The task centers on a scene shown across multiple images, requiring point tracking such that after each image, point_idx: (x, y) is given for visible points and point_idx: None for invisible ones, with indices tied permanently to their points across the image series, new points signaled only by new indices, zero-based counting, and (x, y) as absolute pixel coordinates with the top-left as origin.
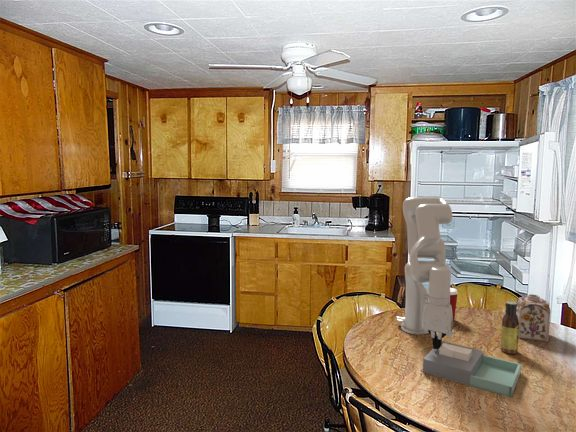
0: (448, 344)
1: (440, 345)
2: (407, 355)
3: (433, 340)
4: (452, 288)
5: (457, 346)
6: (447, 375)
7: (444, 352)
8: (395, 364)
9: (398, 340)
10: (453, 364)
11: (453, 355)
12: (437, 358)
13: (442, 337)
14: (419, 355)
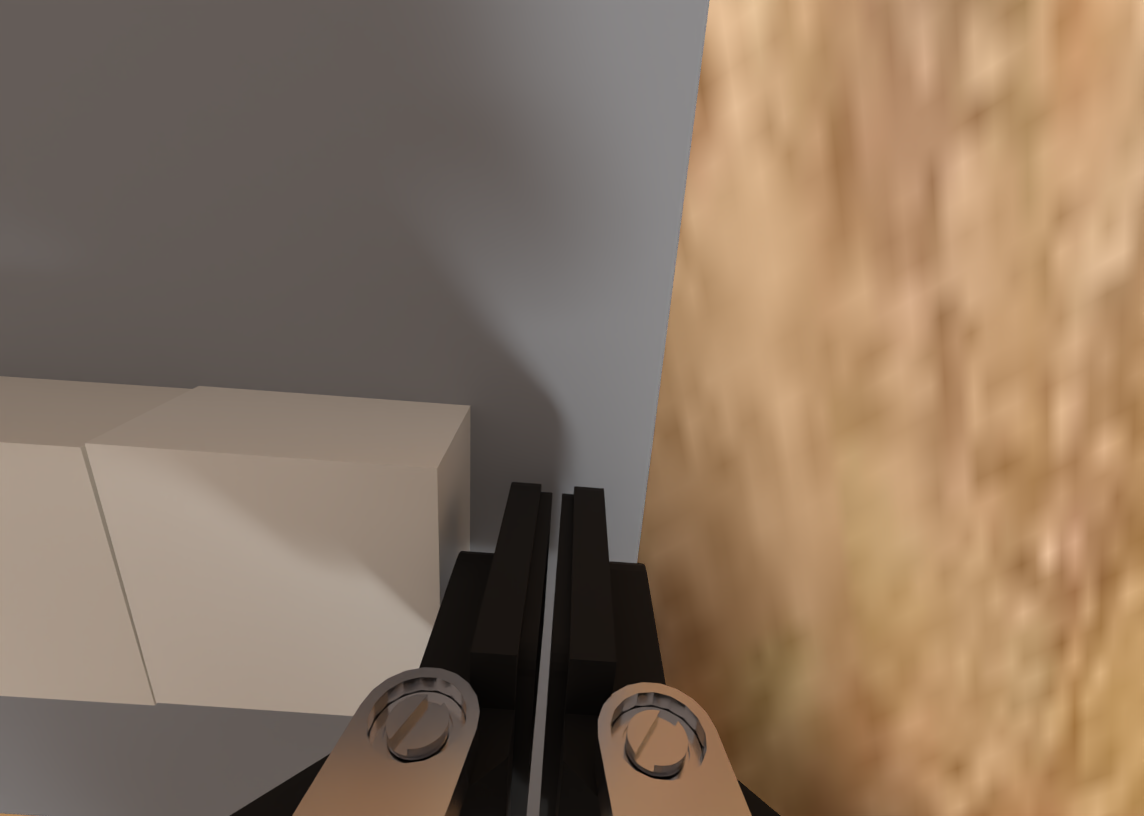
0: (335, 702)
1: (454, 581)
2: (946, 457)
3: (627, 646)
4: None
5: (151, 695)
6: None
7: (348, 421)
8: (1125, 51)
9: (1072, 760)
10: (25, 22)
11: (169, 403)
12: (430, 156)
13: (310, 780)
14: (795, 530)
